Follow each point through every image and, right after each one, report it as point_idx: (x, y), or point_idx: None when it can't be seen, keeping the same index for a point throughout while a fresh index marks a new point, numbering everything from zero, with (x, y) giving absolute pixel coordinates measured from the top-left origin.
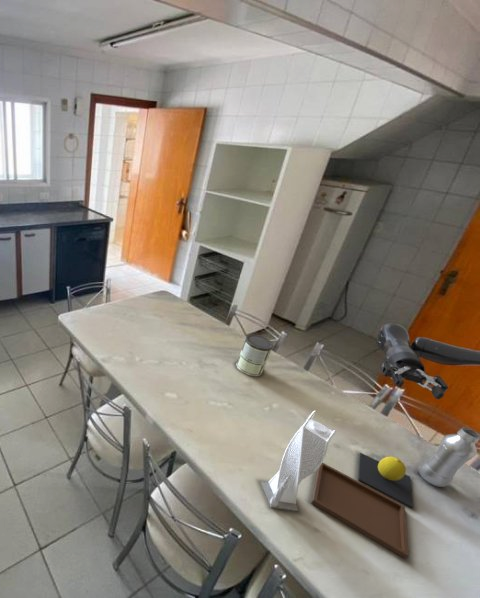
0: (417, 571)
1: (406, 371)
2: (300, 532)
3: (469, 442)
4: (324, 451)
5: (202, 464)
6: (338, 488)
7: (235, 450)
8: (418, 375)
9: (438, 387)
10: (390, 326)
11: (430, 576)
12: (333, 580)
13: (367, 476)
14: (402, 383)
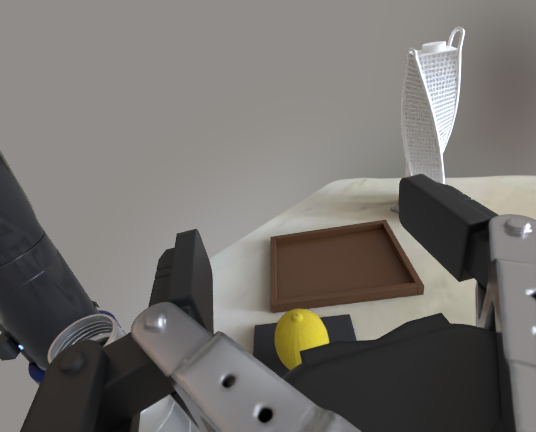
0: (260, 241)
1: (498, 358)
2: (374, 196)
3: (106, 340)
4: (405, 80)
5: (518, 178)
6: (369, 270)
7: (529, 217)
8: (342, 381)
9: (172, 288)
10: None
11: (247, 245)
12: (331, 188)
13: (337, 334)
14: (404, 186)
